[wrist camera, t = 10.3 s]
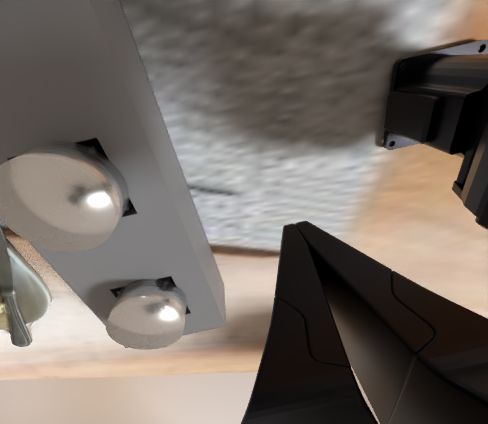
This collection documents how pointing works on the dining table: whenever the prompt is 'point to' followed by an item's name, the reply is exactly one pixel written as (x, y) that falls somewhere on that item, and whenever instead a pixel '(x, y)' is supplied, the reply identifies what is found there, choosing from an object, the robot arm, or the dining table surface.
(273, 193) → the dining table surface
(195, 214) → the console
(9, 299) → the salad plate
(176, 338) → the plunger
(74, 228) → the plunger middle
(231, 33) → the dining table surface
